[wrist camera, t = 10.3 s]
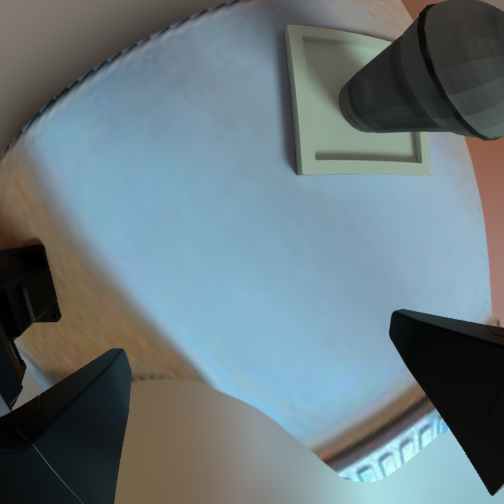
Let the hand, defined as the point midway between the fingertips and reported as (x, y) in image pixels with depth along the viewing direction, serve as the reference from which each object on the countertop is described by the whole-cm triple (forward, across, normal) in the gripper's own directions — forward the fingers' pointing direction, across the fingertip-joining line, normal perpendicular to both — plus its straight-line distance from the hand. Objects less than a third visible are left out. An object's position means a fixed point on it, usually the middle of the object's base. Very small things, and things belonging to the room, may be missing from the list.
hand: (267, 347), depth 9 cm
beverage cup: (+13, -11, -11) cm, 20 cm away
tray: (+13, -11, -11) cm, 20 cm away
